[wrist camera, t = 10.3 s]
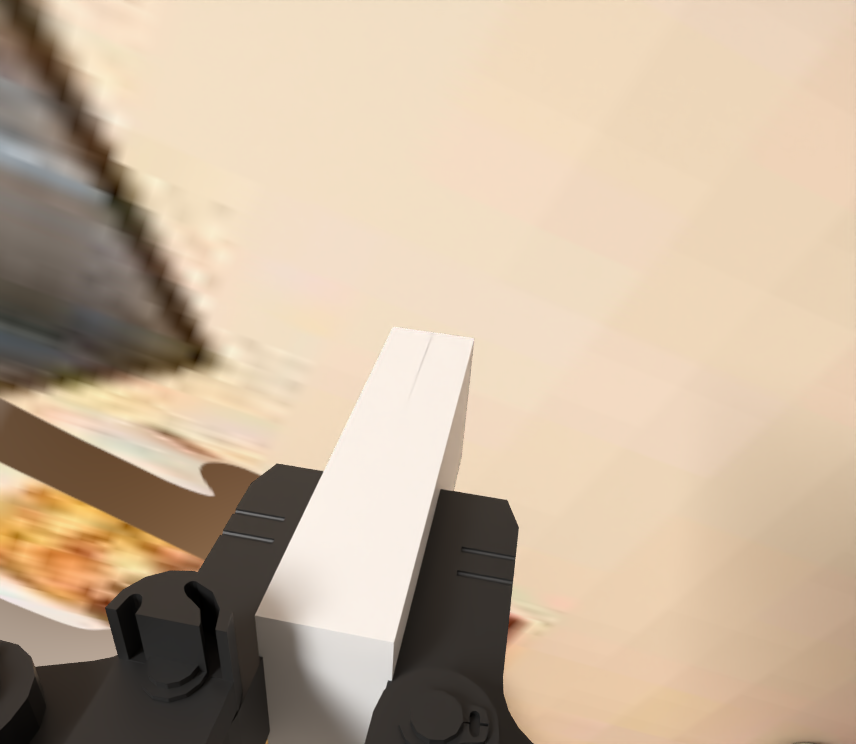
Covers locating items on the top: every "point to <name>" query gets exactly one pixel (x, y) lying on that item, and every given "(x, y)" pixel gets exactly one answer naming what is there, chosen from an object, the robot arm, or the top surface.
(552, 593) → the top surface
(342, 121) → the top surface
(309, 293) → the top surface
